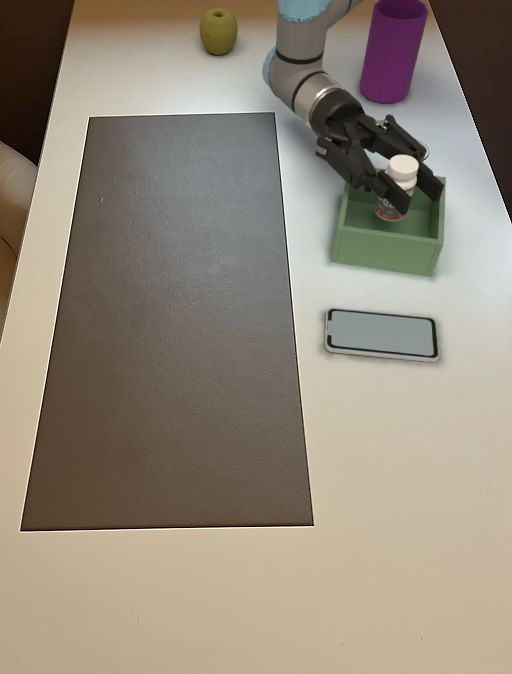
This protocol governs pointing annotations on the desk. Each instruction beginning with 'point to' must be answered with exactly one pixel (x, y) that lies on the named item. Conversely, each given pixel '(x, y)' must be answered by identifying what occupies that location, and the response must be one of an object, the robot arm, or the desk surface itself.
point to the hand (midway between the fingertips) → (423, 200)
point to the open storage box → (390, 233)
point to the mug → (392, 49)
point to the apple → (218, 30)
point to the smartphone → (382, 334)
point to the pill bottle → (405, 177)
